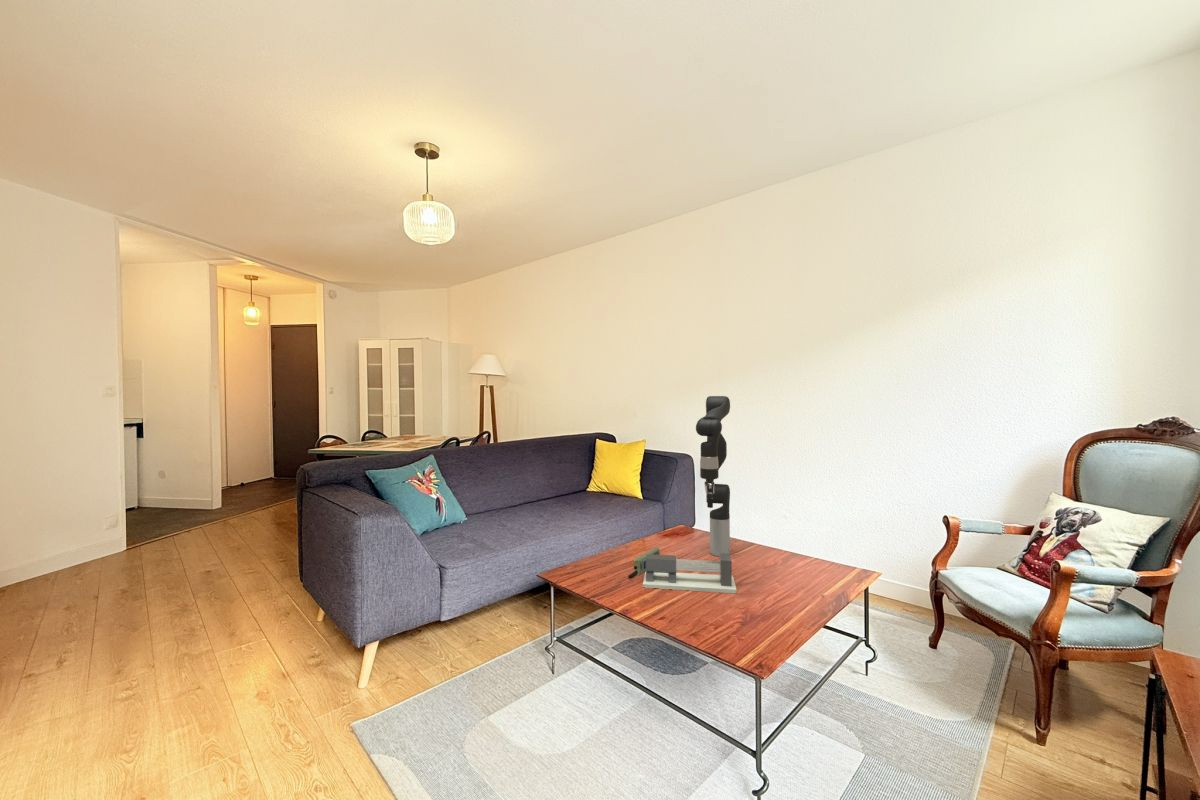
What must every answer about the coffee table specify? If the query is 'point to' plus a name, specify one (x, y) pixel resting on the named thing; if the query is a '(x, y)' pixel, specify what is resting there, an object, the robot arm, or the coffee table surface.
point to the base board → (690, 583)
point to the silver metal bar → (698, 565)
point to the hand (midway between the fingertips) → (709, 505)
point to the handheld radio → (643, 562)
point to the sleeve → (661, 566)
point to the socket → (726, 570)
